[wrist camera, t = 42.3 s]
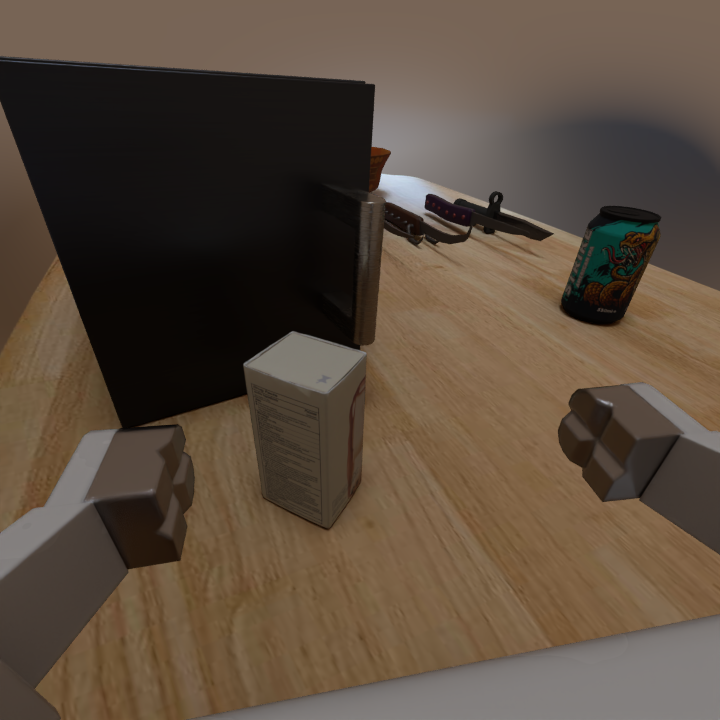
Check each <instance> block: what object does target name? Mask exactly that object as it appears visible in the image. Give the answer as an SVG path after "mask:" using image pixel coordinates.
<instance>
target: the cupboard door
mask: <svg viewBox="0 0 720 720" xmlns="http://www.w3.org/2000/svg"><path fill="white" fill-rule="evenodd" d="M374 93H375V85H374V84H362V83H347V82H331V81H316V80H301V79H285V78H270V77H255V76H239V75H224V74H209V73H193V72H178V71H163V70H147V69H132V68H117V67H101V66H86V65H71V64H55V63H40V62H24V61H9V60H0V102H1V104H2V107H3V109H4V112H5V115H6V118H7V120H8V123H9V126H10V129H11V131H12V134H13V137H14V139H15V142H16V145H17V147H18V150H19V152H20V155H21V158H22V161H23V163H24V166H25V169H26V171H27V174H28V177H29V179H30V182H31V185H32V187H33V190H34V193H35V195H36V198H37V201H38V203H39V206H40V209H41V211H42V214H43V217H44V219H45V222H46V225H47V228H48V230H49V233H50V235H51V238H52V241H53V244H54V246H55V249H56V251H57V254H58V257H59V260H60V262H61V265H62V268H63V270H64V273H65V276H66V278H67V281H68V284H69V286H70V289H71V292H72V294H73V297H74V300H75V302H76V305H77V308H78V310H79V313H80V316H81V318H82V321H83V324H84V327H85V329H86V332H87V335H88V337H89V340H90V343H91V345H92V348H93V351H94V353H95V356H96V359H97V361H98V364H99V367H100V369H101V372H102V375H103V377H104V380H105V383H106V385H107V388H108V391H109V393H110V396H111V399H112V401H113V404H114V407H115V409H116V412H117V415H118V418H119V420H120V423H121V426H122V428H128V427H131V426H135V425H138V424H142V423H145V422H148V421H152V420H155V419H159V418H162V417H166V416H169V415H173V414H176V413H180V412H183V411H187V410H190V409H193V408H197V407H200V406H204V405H207V404H211V403H214V402H218V401H221V400H225V399H228V398H232V397H235V396H238V395H242V394H245V393H247V388H246V380H245V373H244V367H243V364H244V363H245V362H247V361H248V360H250V359H251V358H253V357H254V356H255V355H257V354H259V353H260V352H261V351H263V350H265V349H266V348H268V347H269V346H270V345H272V344H273V343H275V342H277V341H278V340H280V339H281V338H283V337H285V336H286V335H287V334H289V333H290V332H292V331H294V332H297V333H301V334H305V335H309V336H313V337H316V338H320V339H323V340H326V341H330V342H333V343H337V344H339V345H343V346H346V347H349V348H353V349H356V350H360V345H370V344H372V343H373V342H374V340H375V329H376V317H377V304H378V292H379V280H380V267H381V255H382V242H383V230H384V218H385V205H386V201H385V199H383V198H381V197H379V196H376V195H374V194H371V193H369V181H370V164H371V146H372V129H373V111H374Z"/></svg>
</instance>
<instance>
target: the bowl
mask: <svg viewBox="0 0 720 720" xmlns="http://www.w3.org/2000/svg"><path fill="white" fill-rule="evenodd" d="M390 154H391V152H390V151H389V150H386V149H383V148H377V147H371V164H370V181H369V193H370V192H372V191H374V190H376V189H377V188H378V186H379V182H380V176H381V172H382V169H383V167H384V165H385V163H386V161H387V159H388V157H389V156H390Z"/></svg>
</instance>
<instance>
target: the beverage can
mask: <svg viewBox="0 0 720 720" xmlns="http://www.w3.org/2000/svg"><path fill="white" fill-rule="evenodd" d="M660 219H661V217H660V216H659V215H658V214H655V213H653V212H649V211H646V210H641V209H636V208H630V207H622V206H604V207H602V208H601V209H600V213H599V214H598V215H597V216H596V217H595V218H594V219H593V220H592V221H590V223H589V224H588V227H587V229H586V232H585V235H584V238H583V241H582V243H581V246H580V249H579V252H578V255H577V257H576V260H575V263H574V266H573V269H572V271H571V274H570V277H569V280H568V283H567V285H566V288H565V291H564V294H563V297H562V299H561V302H562V305H563V306H564V309H565V310H566V311H567V312H568V313H569V314H570V315H572V316H573V317H575V318H578V319H580V320H583V321H586V322H590V323H596V324H609V323H613V322H615V321H617V320H620V319H621V318H622V317H623V316H624V314H625V312H626V310H627V308H628V306H629V303H630V301H631V299H632V297H633V295H634V293H635V290H636V288H637V286H638V284H639V282H640V280H641V277H642V275H643V273H644V271H645V269H646V267H647V264H648V262H649V260H650V258H651V256H652V254H653V251H654V249H655V247H656V245H657V243H658V241H659V239H660V229H659V225H658V222H659V221H660Z"/></svg>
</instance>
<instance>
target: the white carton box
mask: <svg viewBox="0 0 720 720" xmlns="http://www.w3.org/2000/svg"><path fill="white" fill-rule="evenodd" d="M366 355H367V354H366V353H365V352H363V351H360V350H356V349H353V348H349V347H346V346H343V345H339V344H337V343H333V342H330V341H326V340H323V339H320V338H316V337H313V336H309V335H305V334H301V333H297V332H294V331H292V332H290V333H289V334H287V335H286V336H285V337H283V338H281V339H280V340H278V341H277V342H275V343H273V344H272V345H270V346H269V347H268V348H266V349H265V350H263V351H261V352H260V353H259V354H257V355H255V356H254V357H253V358H251V359H250V360H248V361H247V362H245V363H244V364H243V367H244V373H245V380H246V388H247V394H248V401H249V407H250V414H251V420H252V428H253V434H254V441H255V447H256V454H257V461H258V468H259V475H260V481H261V488H262V494H263V497H264V498H266V499H268V500H270V501H271V502H273V503H275V504H277V505H279V506H281V507H283V508H285V509H287V510H289V511H291V512H293V513H295V514H297V515H299V516H301V517H303V518H305V519H307V520H309V521H312V522H314V523H316V524H318V525H321V526H323V527H325V528H330V527H331V525H332V524H333V523H334V521H335V520H336V518H337V517H338V516H339V514H340V513H341V511H342V510H343V509H344V507H345V506H346V504H347V503H348V501H349V500H350V498H351V497H352V495H353V494H354V492H355V490H356V489H357V487H358V485H359V484H360V482H361V472H362V449H363V424H364V404H365V379H366Z"/></svg>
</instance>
